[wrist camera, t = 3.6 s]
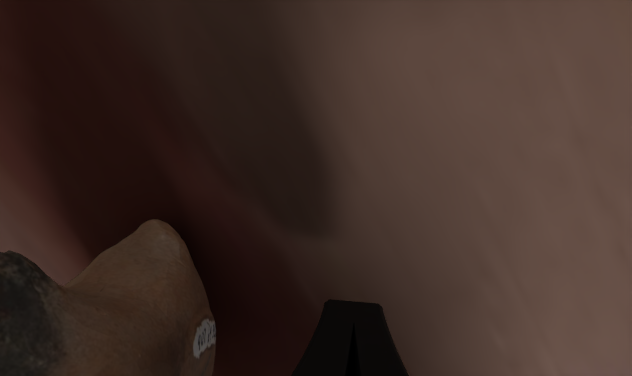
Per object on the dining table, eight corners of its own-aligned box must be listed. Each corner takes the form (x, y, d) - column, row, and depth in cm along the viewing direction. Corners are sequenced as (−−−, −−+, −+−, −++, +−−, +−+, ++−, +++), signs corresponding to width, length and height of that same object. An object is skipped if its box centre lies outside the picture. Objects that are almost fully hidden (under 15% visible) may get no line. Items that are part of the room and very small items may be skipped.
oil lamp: (67, 113, 14) (-247, 329, 7) (219, 117, 13) (58, 348, 6) (126, 364, 18) (-29, 659, 11) (243, 371, 18) (161, 680, 11)
